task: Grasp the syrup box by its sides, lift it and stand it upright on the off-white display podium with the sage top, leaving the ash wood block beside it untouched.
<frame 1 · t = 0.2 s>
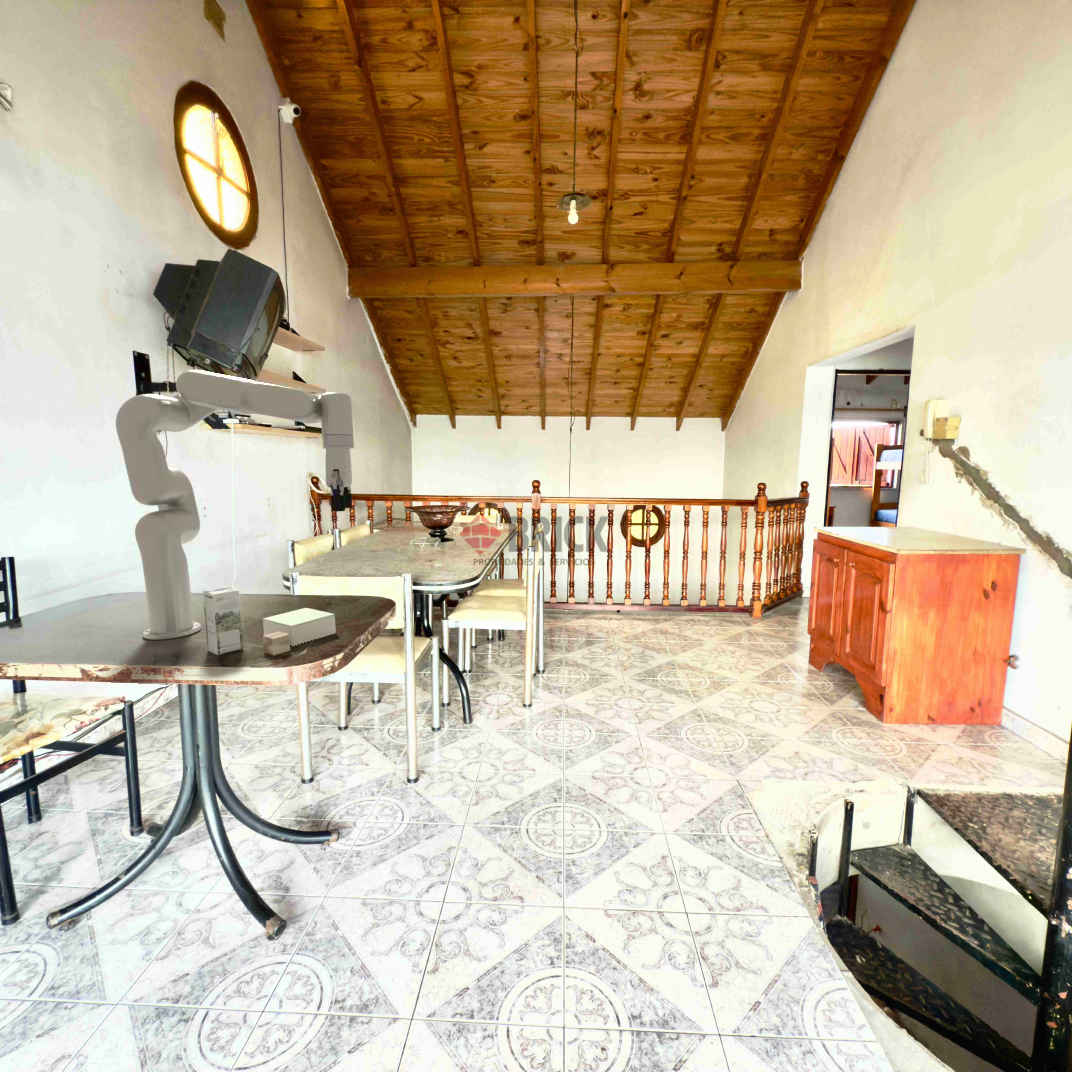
hand: (342, 509, 146), 31 cm above the table, tool pointing down, fingers open, 9 cm apart
podium: (300, 635, 142), on the table
syrup box: (226, 651, 131), on the table
ash block: (277, 651, 130), on the table
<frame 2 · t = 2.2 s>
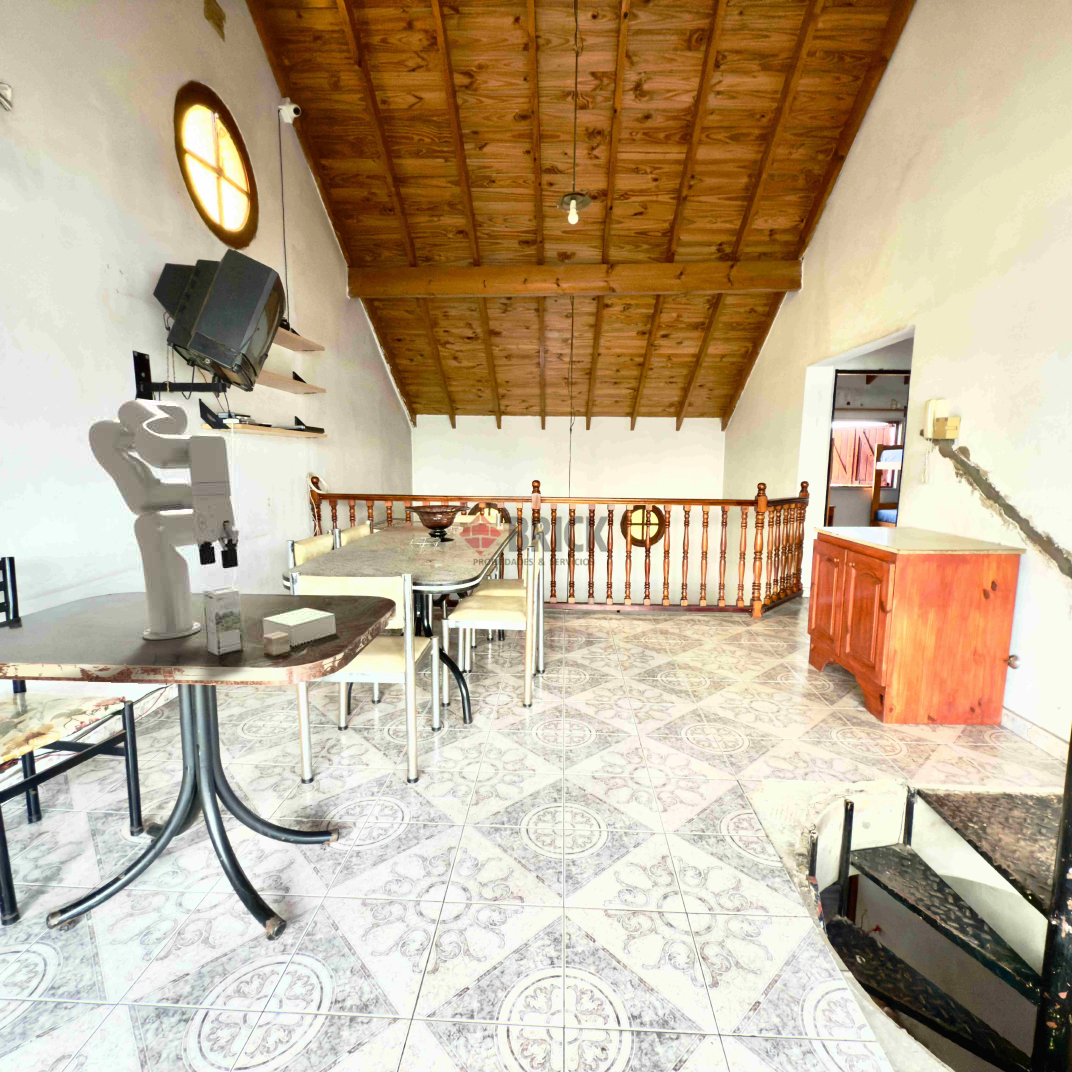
hand: (219, 565, 128), 20 cm above the table, tool pointing down, fingers open, 9 cm apart
nothing on the table moved.
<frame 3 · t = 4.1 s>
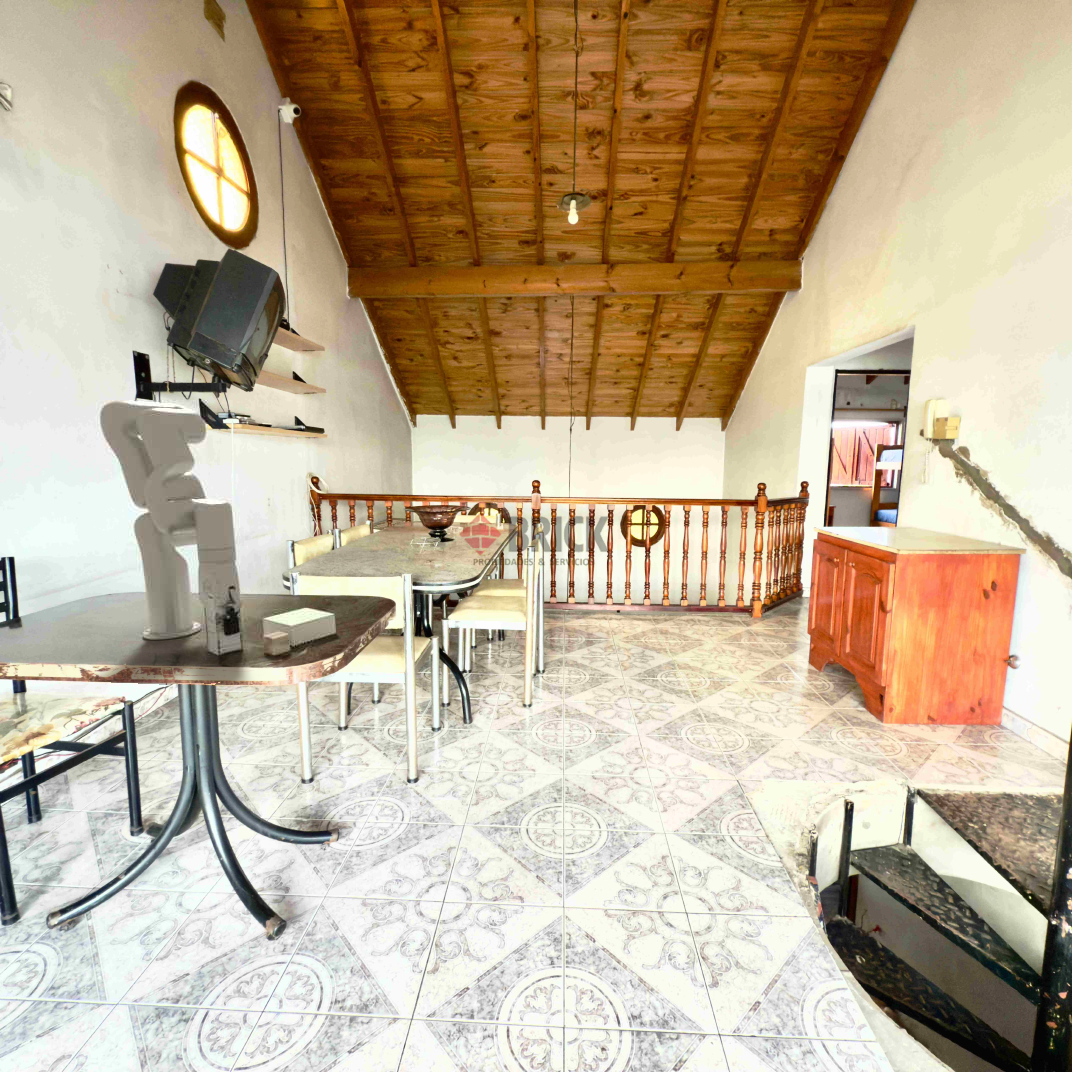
hand: (224, 631, 131), 5 cm above the table, tool pointing down, fingers closed on syrup box, 6 cm apart
syrup box: (226, 651, 131), on the table, touching gripper
everything else where it was.
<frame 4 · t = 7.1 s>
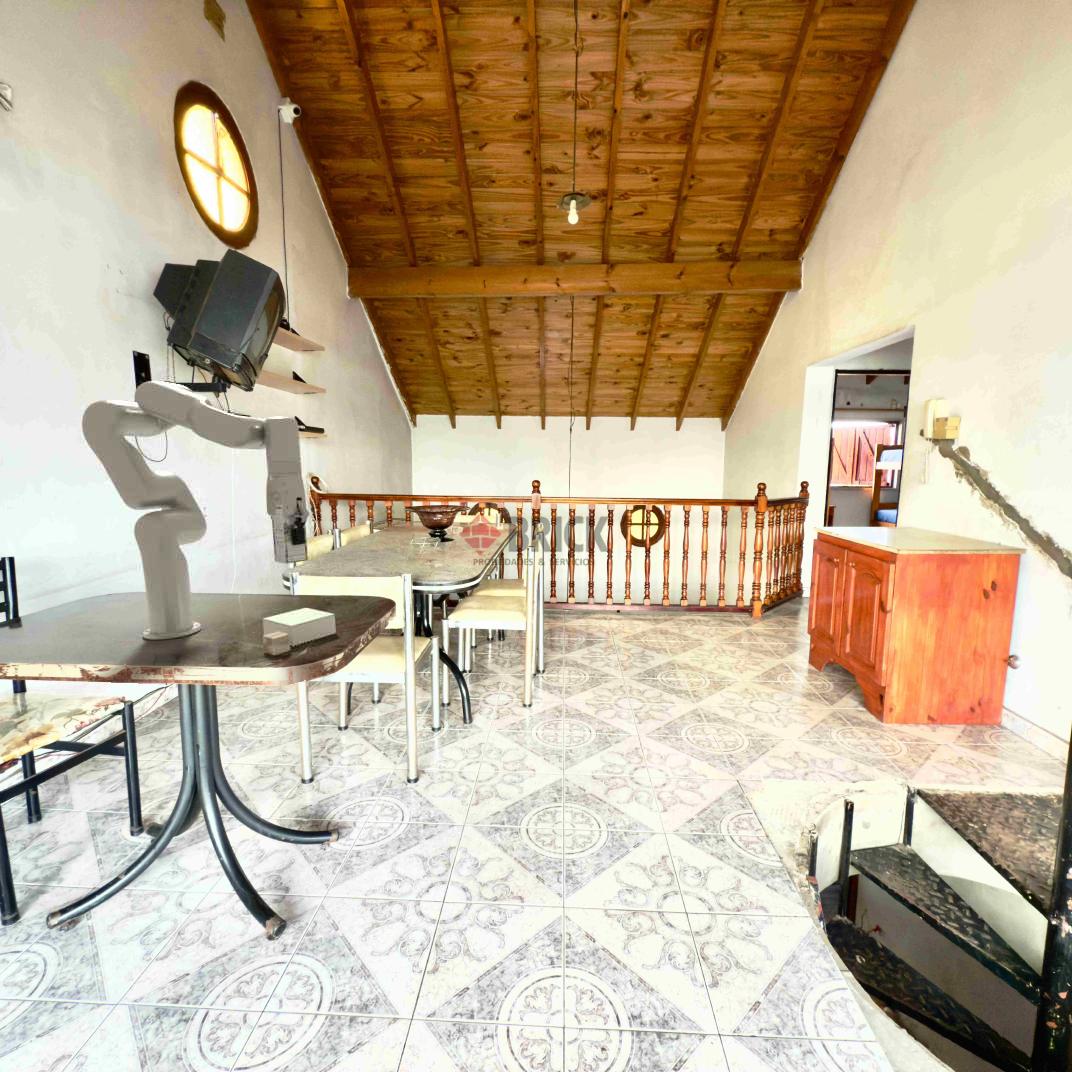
hand: (290, 542, 138), 24 cm above the table, tool pointing down, fingers closed on syrup box, 6 cm apart
syrup box: (291, 562, 139), point 19 cm above the table, touching gripper
everything else where it was.
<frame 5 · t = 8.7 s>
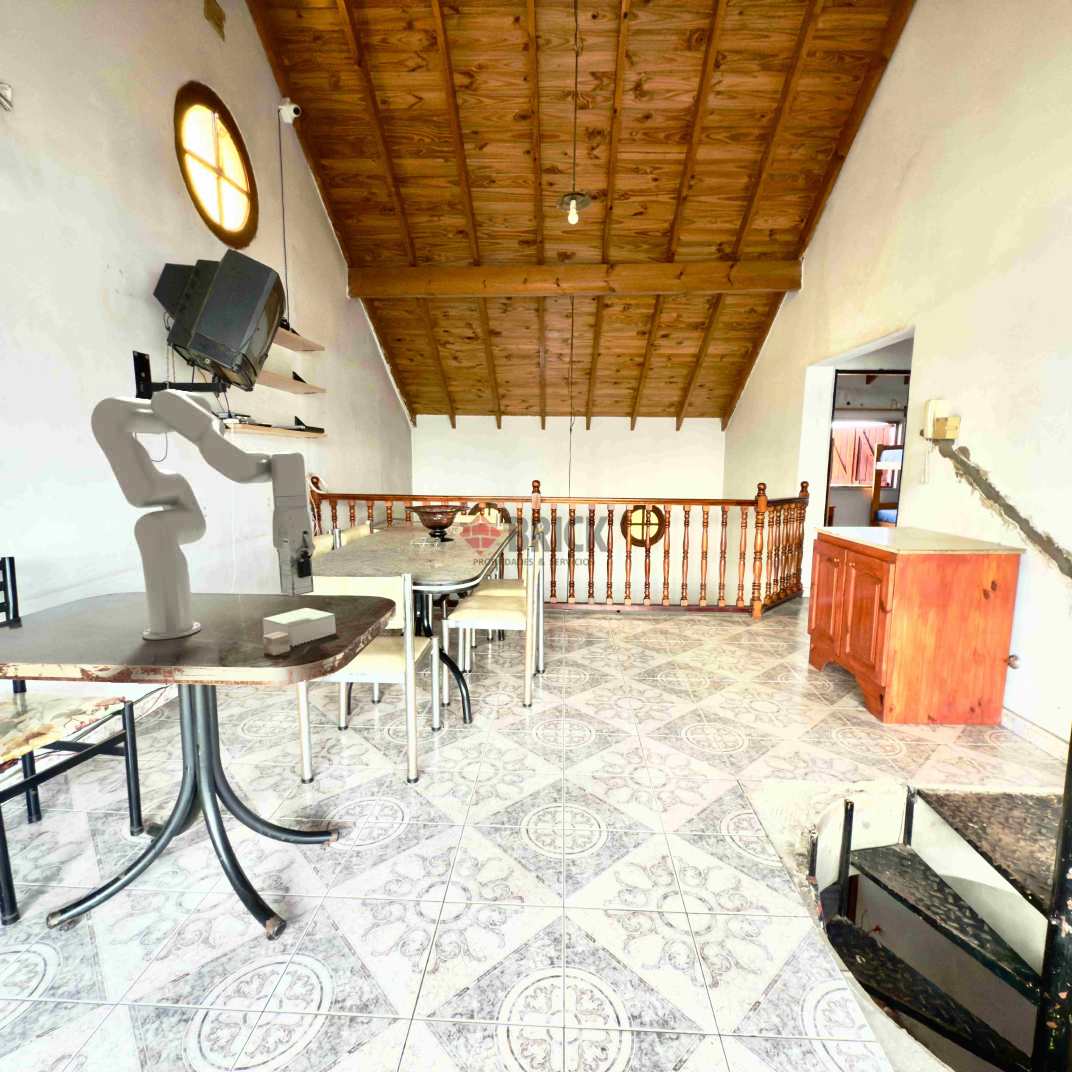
hand: (296, 574, 140), 16 cm above the table, tool pointing down, fingers closed on syrup box, 6 cm apart
syrup box: (297, 593, 140), point 11 cm above the table, touching gripper
everything else where it was.
when the fingers open (11 cm above the table, at t = 10.0 s): syrup box drops 1 cm, resting on podium.
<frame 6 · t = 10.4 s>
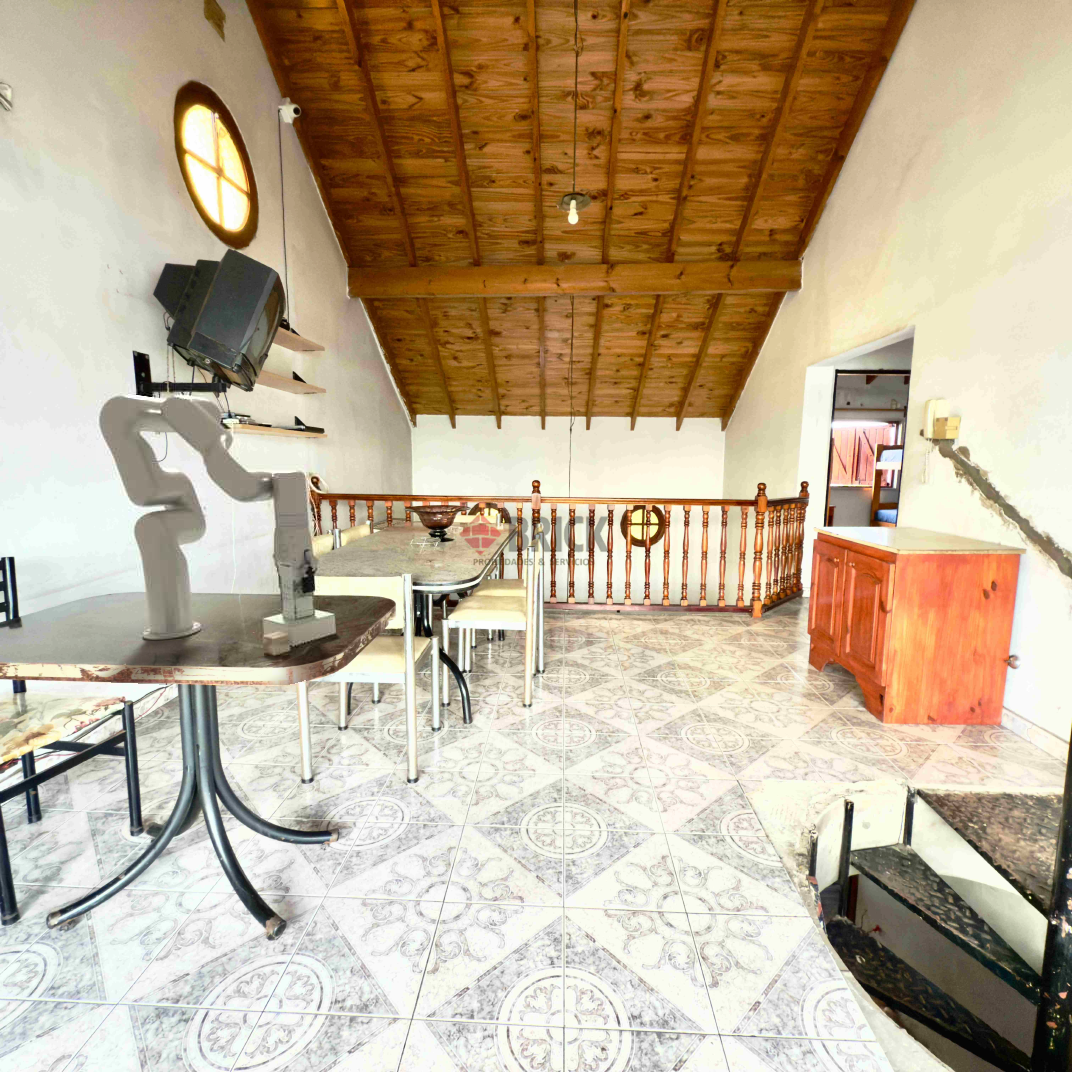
hand: (297, 589, 140), 12 cm above the table, tool pointing down, fingers open, 9 cm apart
syrup box: (299, 617, 141), point 5 cm above the table, touching podium
everything else where it was.
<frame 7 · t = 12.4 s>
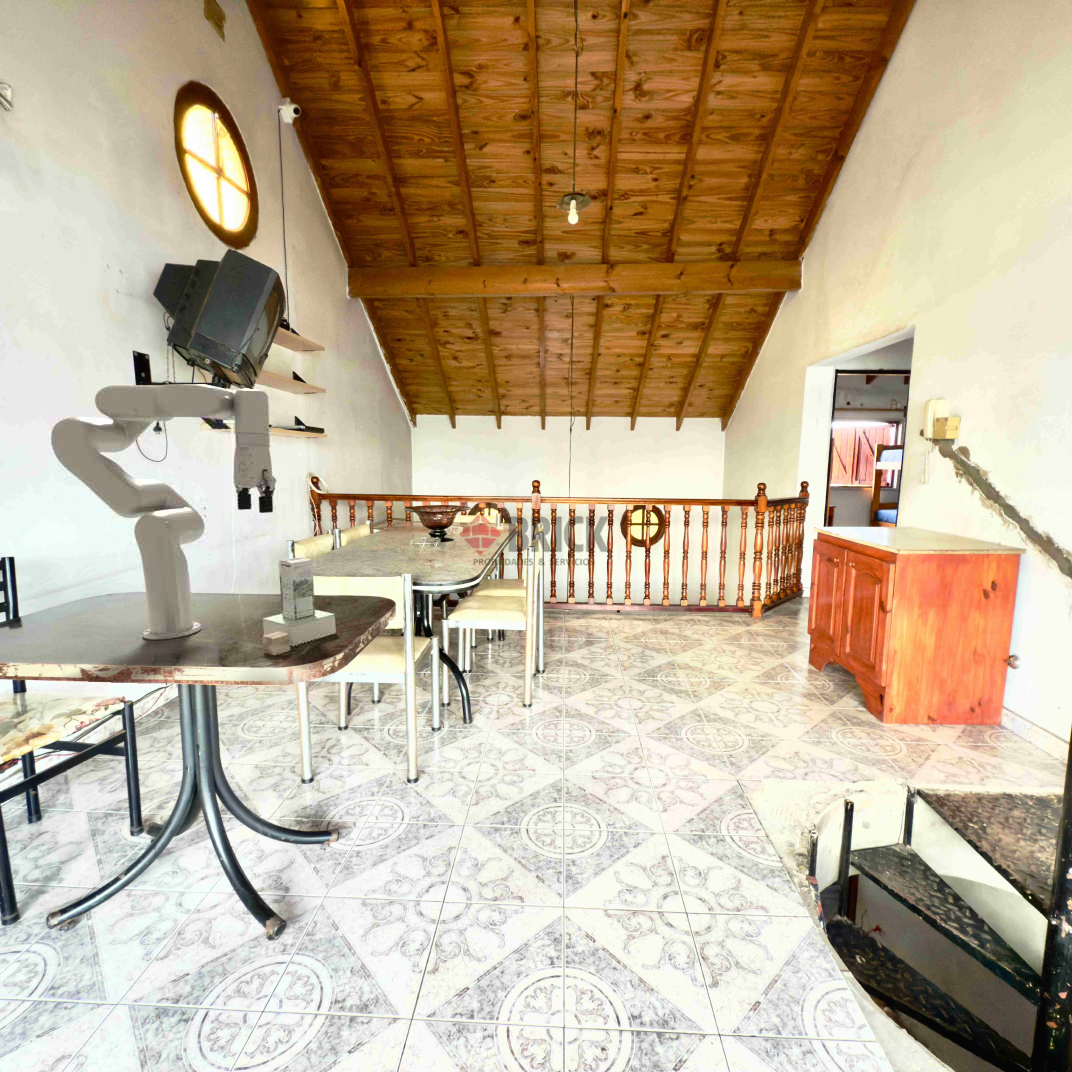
hand: (255, 510, 140), 31 cm above the table, tool pointing down, fingers open, 9 cm apart
nothing on the table moved.
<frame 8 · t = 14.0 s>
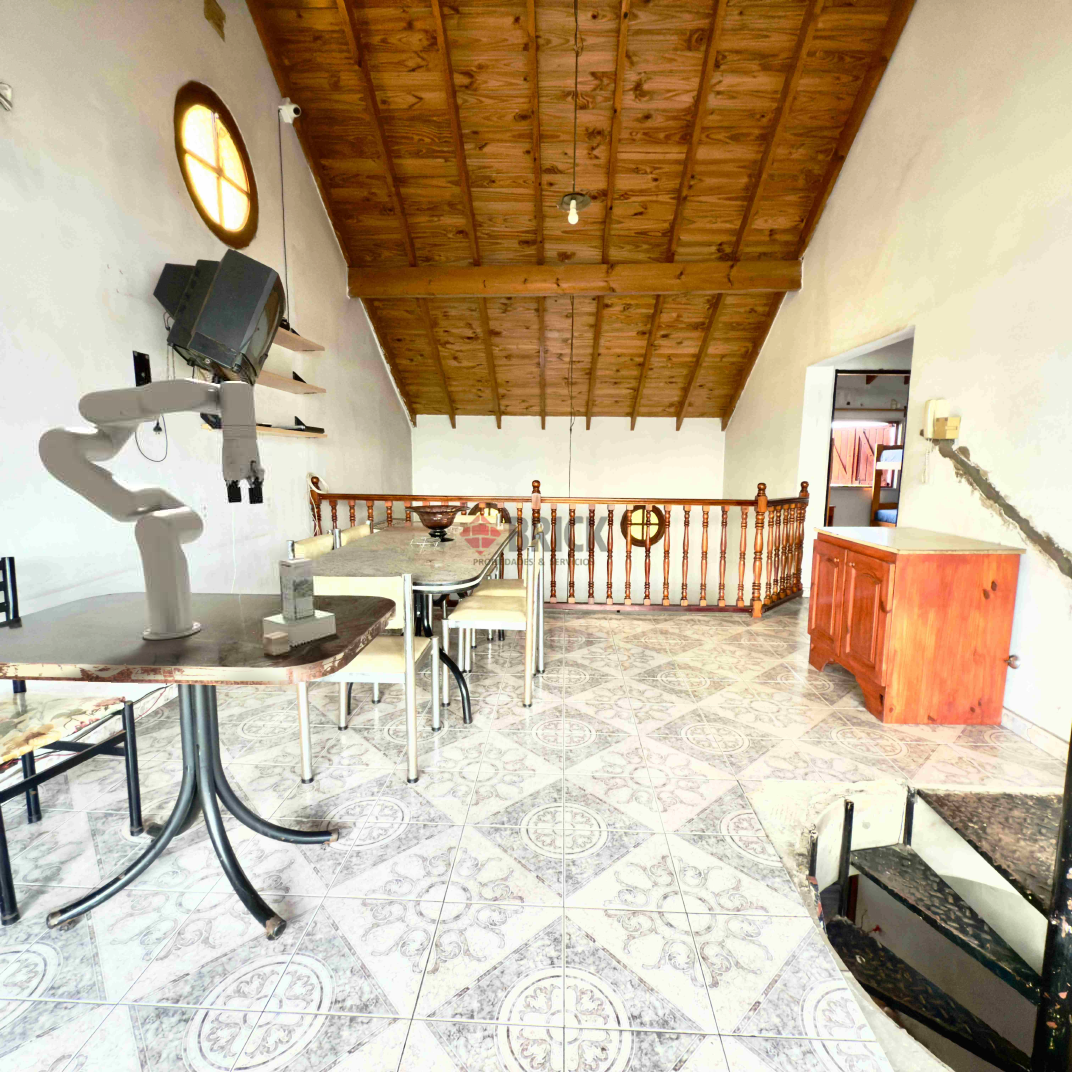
hand: (245, 503, 141), 33 cm above the table, tool pointing down, fingers open, 9 cm apart
nothing on the table moved.
at the end: syrup box inside the target area on the podium (0.2 cm from its centre), point 4.8 cm above the podium's base; syrup box tilted 0°; the gripper is holding nothing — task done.
